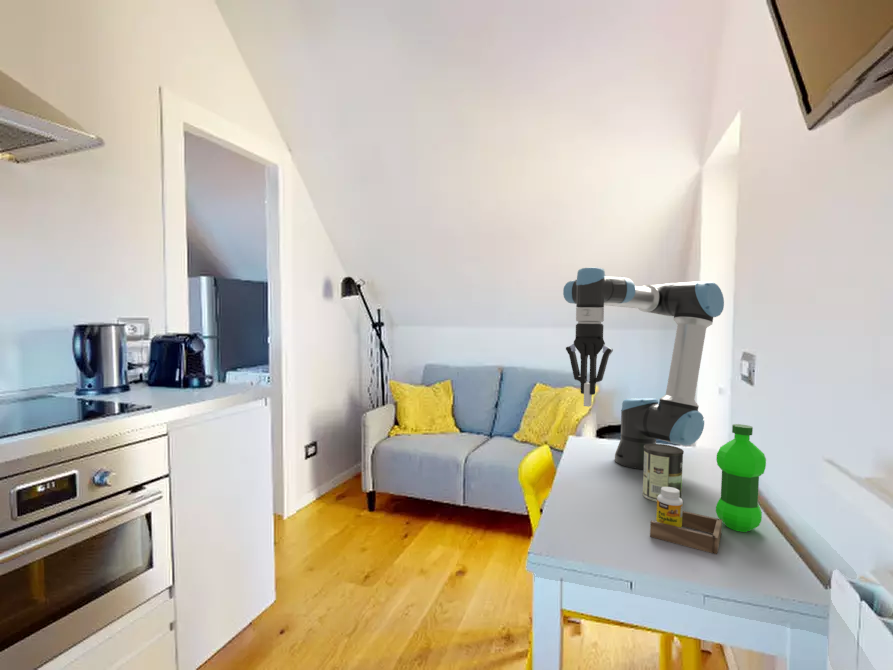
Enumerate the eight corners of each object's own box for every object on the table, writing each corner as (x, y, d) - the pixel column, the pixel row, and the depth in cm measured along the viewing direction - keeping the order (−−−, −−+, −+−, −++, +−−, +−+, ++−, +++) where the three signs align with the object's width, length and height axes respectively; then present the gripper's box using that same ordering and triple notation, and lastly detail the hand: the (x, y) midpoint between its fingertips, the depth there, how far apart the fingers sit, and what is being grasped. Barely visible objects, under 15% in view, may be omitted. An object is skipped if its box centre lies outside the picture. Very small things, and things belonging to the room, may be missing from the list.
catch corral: (659, 519, 119) (660, 505, 119) (721, 534, 111) (722, 519, 111) (649, 536, 109) (650, 521, 109) (717, 554, 101) (717, 538, 101)
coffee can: (675, 492, 138) (677, 444, 138) (686, 505, 128) (688, 454, 128) (638, 489, 140) (640, 442, 140) (646, 502, 130) (648, 451, 130)
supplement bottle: (653, 532, 111) (654, 489, 111) (658, 524, 116) (660, 483, 115) (679, 539, 108) (680, 495, 107) (683, 531, 112) (685, 488, 112)
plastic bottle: (744, 518, 120) (749, 421, 120) (773, 537, 110) (778, 431, 109) (705, 517, 120) (709, 420, 120) (730, 536, 110) (735, 430, 109)
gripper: (562, 322, 133) (560, 405, 134) (610, 323, 126) (607, 410, 127) (570, 322, 140) (569, 401, 141) (616, 323, 133) (614, 406, 134)
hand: (587, 405), depth 134 cm, fingers closed
